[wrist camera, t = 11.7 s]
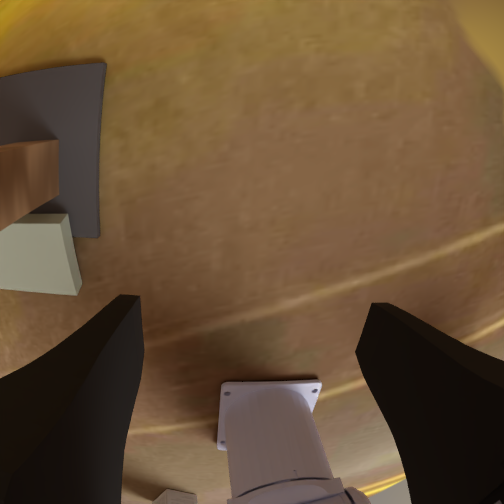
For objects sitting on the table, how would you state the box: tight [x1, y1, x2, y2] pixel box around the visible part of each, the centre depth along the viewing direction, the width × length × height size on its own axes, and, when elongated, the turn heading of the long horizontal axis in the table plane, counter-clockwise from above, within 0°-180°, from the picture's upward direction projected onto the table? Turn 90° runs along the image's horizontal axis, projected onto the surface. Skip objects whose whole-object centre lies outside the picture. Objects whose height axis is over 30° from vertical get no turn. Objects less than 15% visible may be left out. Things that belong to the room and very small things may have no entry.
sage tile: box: [0, 214, 82, 296], centre depth 16 cm, size 1×7×5 cm
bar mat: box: [0, 63, 107, 238], centre depth 15 cm, size 10×8×1 cm
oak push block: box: [0, 140, 59, 231], centre depth 12 cm, size 3×3×7 cm
